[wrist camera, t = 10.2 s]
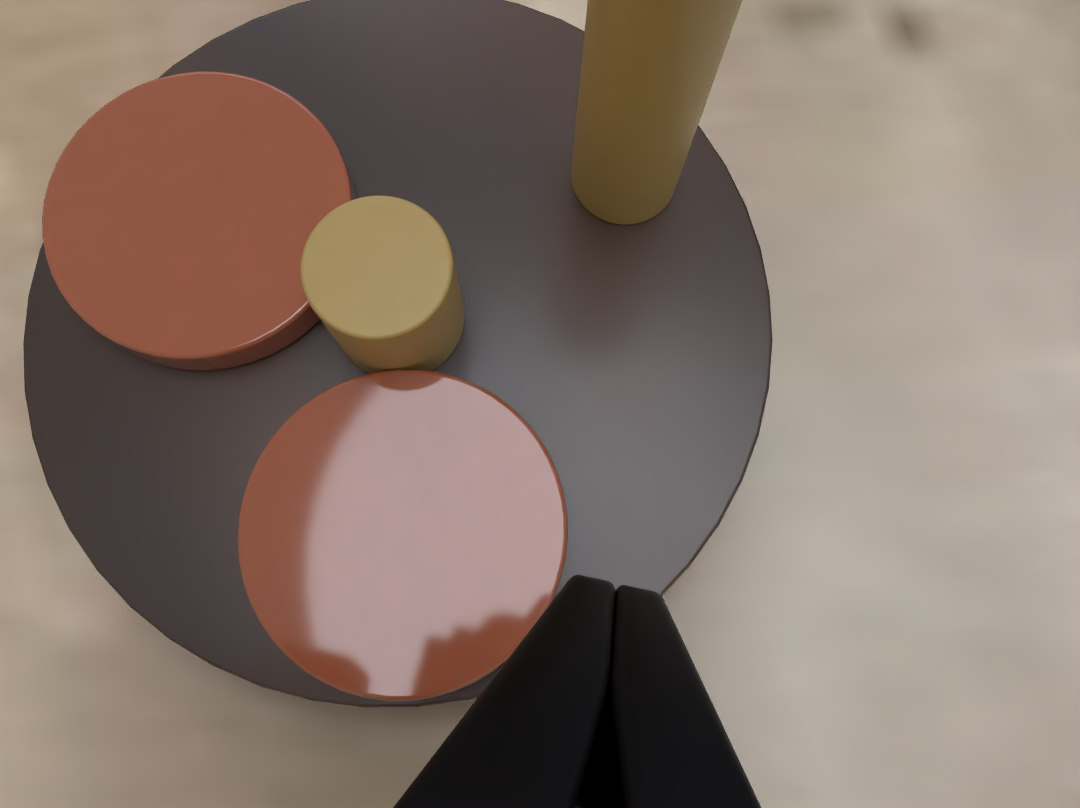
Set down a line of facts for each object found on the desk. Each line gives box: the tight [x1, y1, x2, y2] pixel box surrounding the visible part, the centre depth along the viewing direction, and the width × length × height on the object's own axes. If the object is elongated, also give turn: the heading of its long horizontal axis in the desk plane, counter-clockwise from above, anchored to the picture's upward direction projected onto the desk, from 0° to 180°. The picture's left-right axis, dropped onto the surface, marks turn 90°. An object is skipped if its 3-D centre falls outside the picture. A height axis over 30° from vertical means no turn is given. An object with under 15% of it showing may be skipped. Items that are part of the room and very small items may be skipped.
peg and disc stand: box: [24, 0, 772, 707], centre depth 14 cm, size 15×15×12 cm
